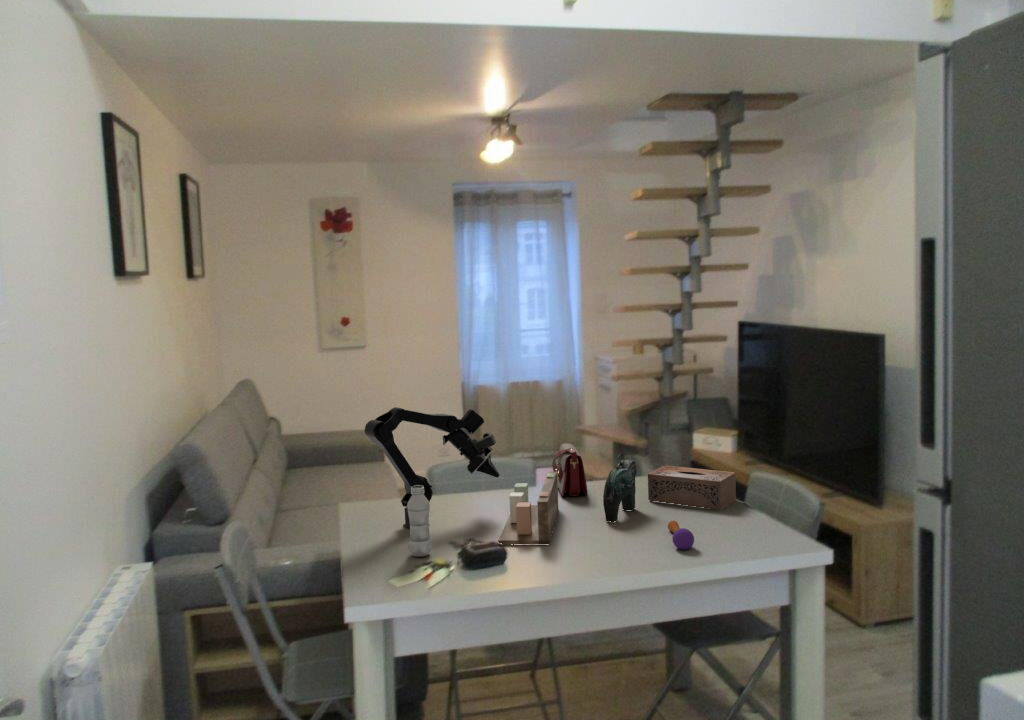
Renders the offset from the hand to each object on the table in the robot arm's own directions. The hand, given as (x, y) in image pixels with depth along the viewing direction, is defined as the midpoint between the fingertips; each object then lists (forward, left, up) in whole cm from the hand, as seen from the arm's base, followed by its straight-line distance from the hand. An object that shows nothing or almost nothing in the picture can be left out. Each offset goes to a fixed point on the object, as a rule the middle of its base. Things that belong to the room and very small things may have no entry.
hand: (498, 476), depth 264 cm
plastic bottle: (-41, -16, -13) cm, 46 cm away
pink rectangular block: (-9, -25, -11) cm, 29 cm away
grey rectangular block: (-3, -14, -11) cm, 18 cm away
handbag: (+39, +9, -14) cm, 42 cm away
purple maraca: (+21, -58, -14) cm, 64 cm away
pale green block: (+5, -5, -11) cm, 14 cm away
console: (-1, -16, -13) cm, 21 cm away
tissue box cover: (+57, -33, -14) cm, 68 cm away
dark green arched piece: (+28, -28, -14) cm, 42 cm away
